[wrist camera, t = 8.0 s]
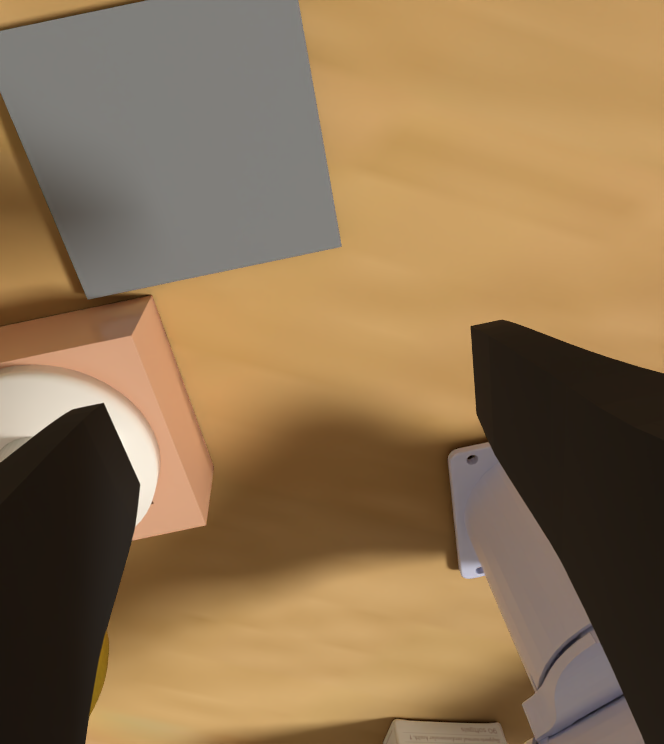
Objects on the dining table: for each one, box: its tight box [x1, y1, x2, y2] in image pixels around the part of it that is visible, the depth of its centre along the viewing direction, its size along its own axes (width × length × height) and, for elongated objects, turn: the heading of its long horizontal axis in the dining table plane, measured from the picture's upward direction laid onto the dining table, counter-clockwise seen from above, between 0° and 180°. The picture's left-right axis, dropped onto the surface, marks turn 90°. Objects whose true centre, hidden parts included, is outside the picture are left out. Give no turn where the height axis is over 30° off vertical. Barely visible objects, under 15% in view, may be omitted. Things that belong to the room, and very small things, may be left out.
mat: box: [0, 0, 342, 299], centre depth 18 cm, size 9×8×1 cm
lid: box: [0, 364, 161, 526], centre depth 17 cm, size 7×7×6 cm
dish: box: [0, 295, 214, 541], centre depth 21 cm, size 8×8×4 cm
